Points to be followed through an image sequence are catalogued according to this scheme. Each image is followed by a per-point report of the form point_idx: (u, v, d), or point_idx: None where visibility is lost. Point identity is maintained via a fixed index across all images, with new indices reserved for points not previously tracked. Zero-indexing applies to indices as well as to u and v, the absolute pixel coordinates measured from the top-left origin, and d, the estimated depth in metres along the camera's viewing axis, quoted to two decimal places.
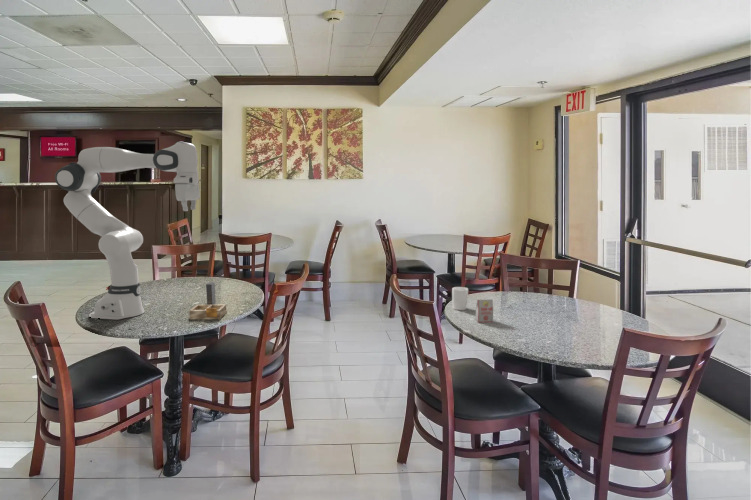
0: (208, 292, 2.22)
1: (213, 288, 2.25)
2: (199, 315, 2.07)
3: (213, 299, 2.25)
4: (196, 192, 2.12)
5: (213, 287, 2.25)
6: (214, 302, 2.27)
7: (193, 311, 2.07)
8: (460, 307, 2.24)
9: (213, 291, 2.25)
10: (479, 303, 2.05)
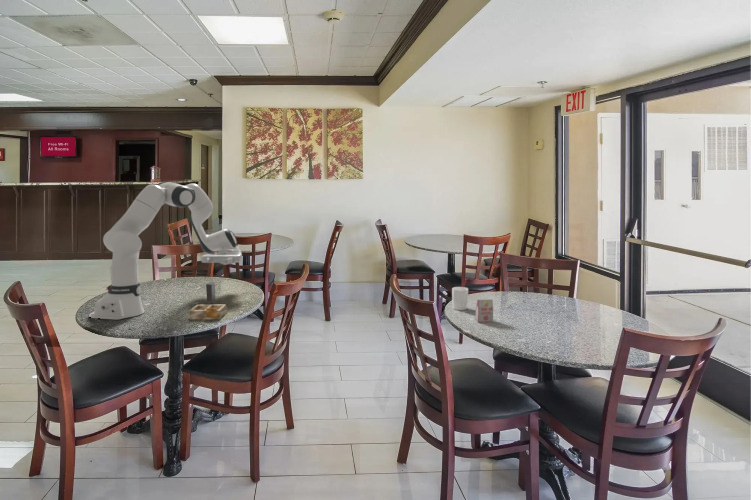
0: (208, 292, 2.22)
1: (213, 288, 2.25)
2: (199, 315, 2.07)
3: (213, 299, 2.25)
4: None
5: (213, 287, 2.25)
6: (214, 302, 2.27)
7: (193, 311, 2.07)
8: (460, 307, 2.24)
9: (213, 291, 2.25)
10: (479, 303, 2.05)
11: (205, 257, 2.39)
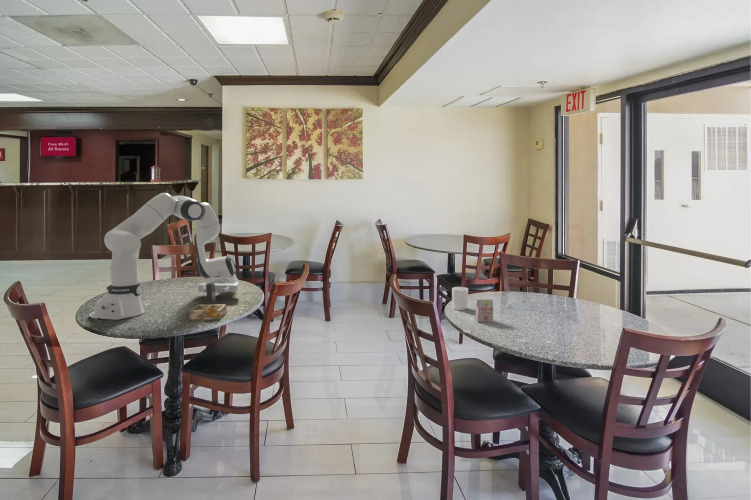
0: (208, 292, 2.22)
1: (213, 288, 2.25)
2: (199, 315, 2.07)
3: (213, 299, 2.25)
4: None
5: (213, 287, 2.25)
6: (214, 302, 2.27)
7: (193, 311, 2.07)
8: (460, 307, 2.24)
9: (213, 291, 2.25)
10: (479, 303, 2.05)
11: (201, 286, 2.35)
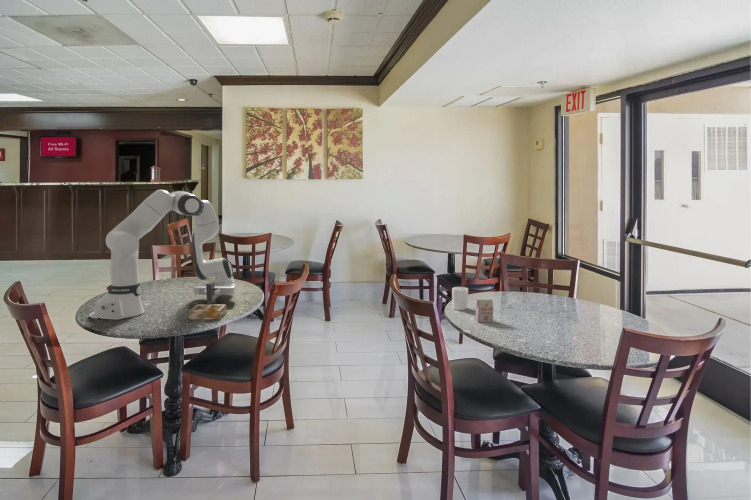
0: (208, 292, 2.22)
1: (213, 288, 2.25)
2: (199, 315, 2.07)
3: (213, 299, 2.25)
4: None
5: (213, 287, 2.25)
6: (214, 302, 2.27)
7: (193, 311, 2.07)
8: (460, 307, 2.24)
9: None
10: (479, 303, 2.05)
11: (197, 289, 2.28)
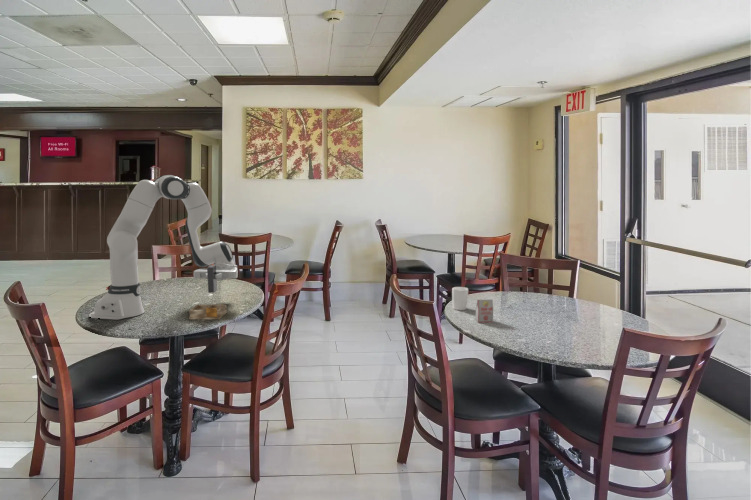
0: (209, 275, 2.14)
1: (214, 271, 2.17)
2: (199, 315, 2.07)
3: (214, 283, 2.16)
4: None
5: (214, 270, 2.17)
6: (215, 286, 2.18)
7: (193, 311, 2.07)
8: (460, 307, 2.24)
9: (214, 274, 2.16)
10: (479, 303, 2.05)
11: (198, 272, 2.20)
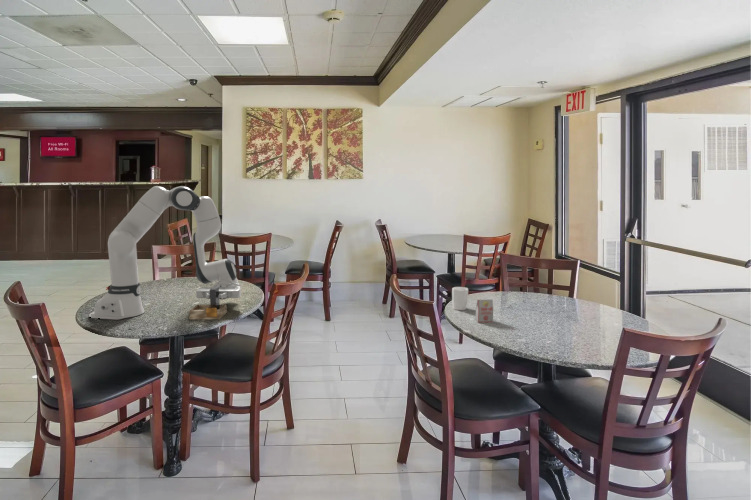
0: (212, 298, 2.09)
1: (217, 293, 2.11)
2: (199, 315, 2.07)
3: (217, 305, 2.11)
4: None
5: (217, 292, 2.11)
6: (218, 308, 2.13)
7: (193, 311, 2.07)
8: (460, 307, 2.24)
9: (217, 297, 2.11)
10: (479, 303, 2.05)
11: (200, 292, 2.14)
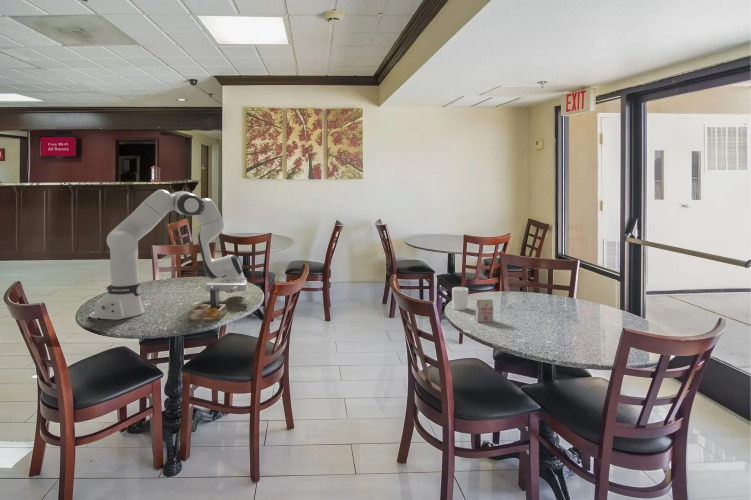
0: (212, 298, 2.09)
1: (217, 293, 2.11)
2: (199, 315, 2.07)
3: (217, 305, 2.11)
4: None
5: (217, 292, 2.11)
6: (218, 308, 2.13)
7: (193, 311, 2.07)
8: (460, 307, 2.24)
9: (217, 297, 2.11)
10: (479, 303, 2.05)
11: (209, 286, 2.27)
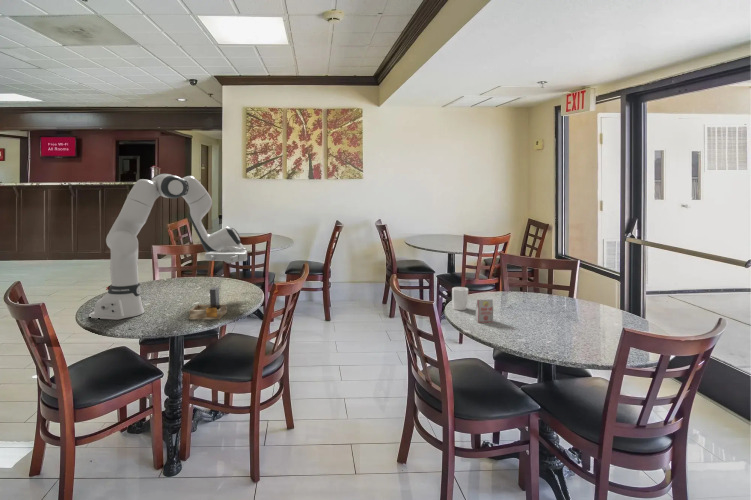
0: (212, 298, 2.09)
1: (217, 293, 2.11)
2: (199, 315, 2.07)
3: (217, 305, 2.11)
4: None
5: (217, 292, 2.11)
6: (218, 308, 2.13)
7: (193, 311, 2.07)
8: (460, 307, 2.24)
9: (217, 297, 2.11)
10: (479, 303, 2.05)
11: (209, 255, 2.27)
